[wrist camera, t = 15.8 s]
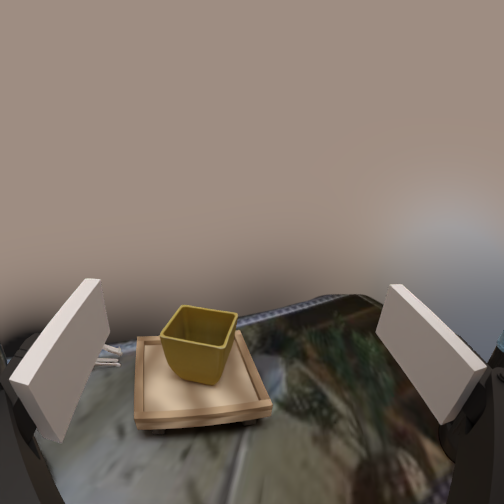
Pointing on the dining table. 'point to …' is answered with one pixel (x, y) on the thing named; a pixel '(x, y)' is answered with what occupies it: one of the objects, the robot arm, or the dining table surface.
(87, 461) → the dining table surface
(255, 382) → the plant caddy
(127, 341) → the dining table surface
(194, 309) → the flower pot
